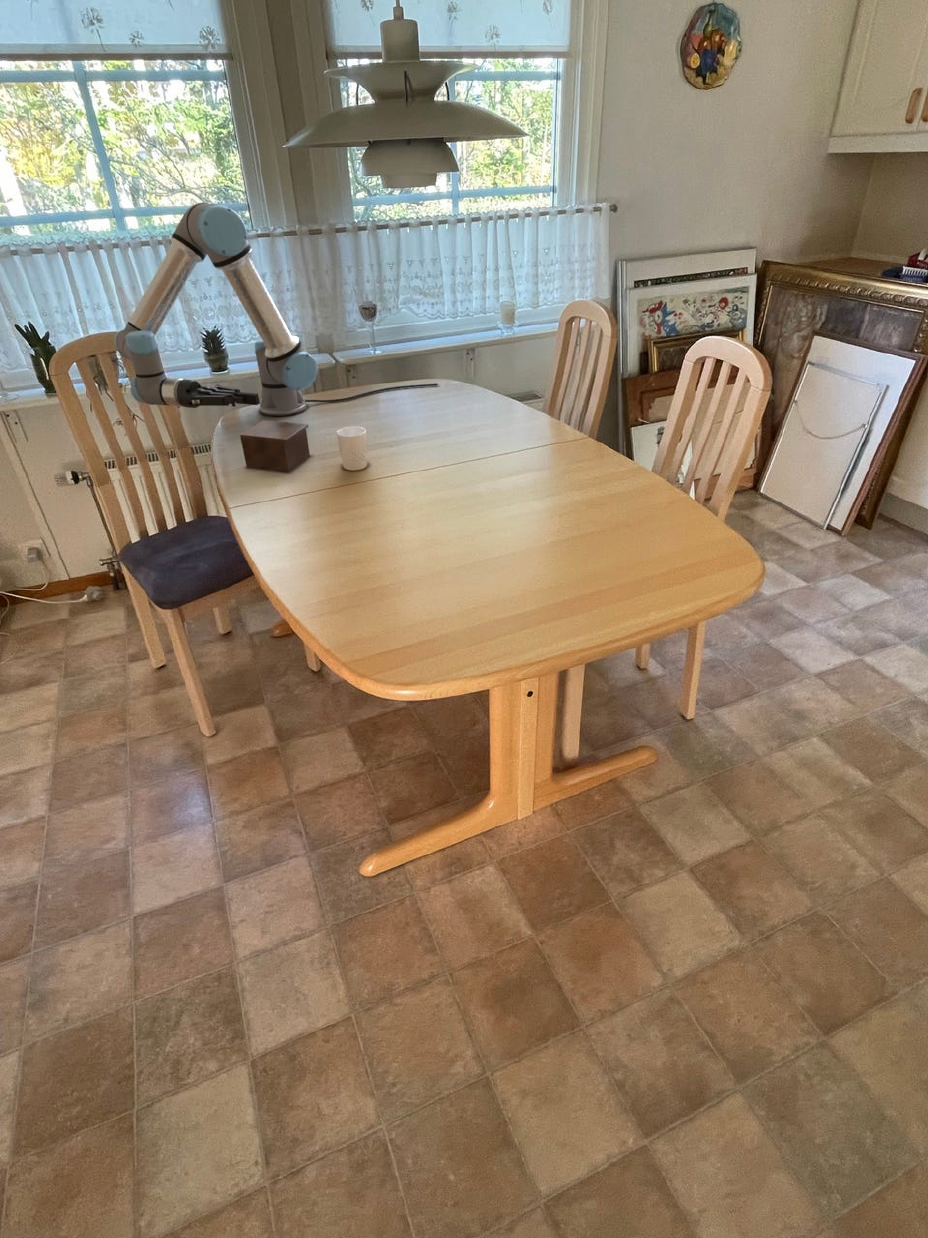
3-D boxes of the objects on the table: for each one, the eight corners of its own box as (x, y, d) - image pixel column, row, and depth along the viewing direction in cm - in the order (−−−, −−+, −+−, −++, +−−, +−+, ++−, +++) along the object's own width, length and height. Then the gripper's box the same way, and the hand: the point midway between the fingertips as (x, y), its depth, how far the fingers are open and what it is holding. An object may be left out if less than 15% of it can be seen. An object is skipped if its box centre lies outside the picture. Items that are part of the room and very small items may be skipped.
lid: (308, 427, 196) (308, 424, 195) (286, 442, 186) (285, 439, 186) (264, 422, 200) (263, 419, 199) (240, 437, 190) (239, 434, 190)
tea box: (310, 456, 201) (305, 426, 196) (288, 472, 191) (283, 442, 187) (269, 451, 205) (264, 422, 200) (246, 467, 195) (240, 437, 190)
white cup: (355, 473, 190) (351, 438, 184) (335, 467, 194) (330, 432, 188) (375, 464, 195) (371, 429, 189) (355, 458, 199) (351, 424, 193)
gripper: (200, 399, 202) (272, 405, 196) (172, 413, 192) (247, 420, 186) (194, 373, 198) (267, 378, 192) (165, 386, 188) (241, 392, 182)
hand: (257, 399), depth 189 cm, fingers closed
